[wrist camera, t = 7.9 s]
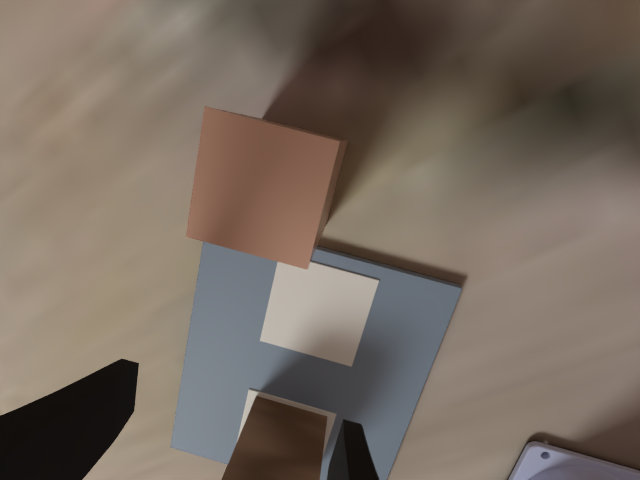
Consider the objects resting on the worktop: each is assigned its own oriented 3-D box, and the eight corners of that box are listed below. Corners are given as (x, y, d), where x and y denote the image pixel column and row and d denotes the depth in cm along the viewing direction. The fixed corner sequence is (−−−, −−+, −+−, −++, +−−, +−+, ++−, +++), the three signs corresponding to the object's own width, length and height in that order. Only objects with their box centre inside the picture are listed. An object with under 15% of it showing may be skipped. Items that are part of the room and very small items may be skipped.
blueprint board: (459, 284, 19) (462, 289, 19) (374, 499, 24) (375, 509, 23) (211, 217, 20) (206, 219, 19) (174, 440, 25) (169, 448, 24)
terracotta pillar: (348, 140, 18) (339, 141, 11) (325, 224, 19) (307, 269, 13) (262, 118, 18) (204, 106, 12) (246, 203, 20) (185, 236, 13)
